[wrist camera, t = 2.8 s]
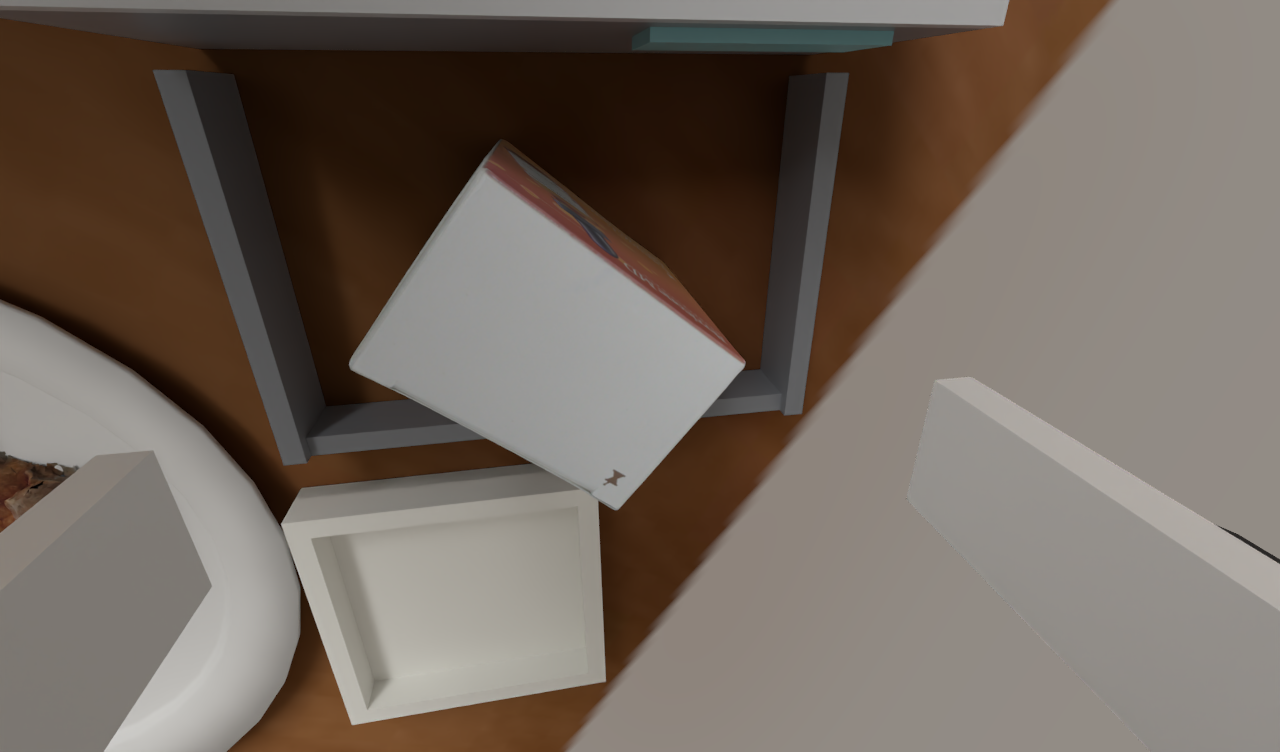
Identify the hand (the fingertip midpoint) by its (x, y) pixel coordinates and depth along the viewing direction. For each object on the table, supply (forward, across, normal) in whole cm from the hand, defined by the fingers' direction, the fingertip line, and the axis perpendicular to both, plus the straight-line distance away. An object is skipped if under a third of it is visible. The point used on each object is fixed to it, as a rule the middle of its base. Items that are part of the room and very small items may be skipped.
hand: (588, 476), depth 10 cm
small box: (+15, 0, 0) cm, 15 cm away
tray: (+15, -5, -16) cm, 22 cm away
